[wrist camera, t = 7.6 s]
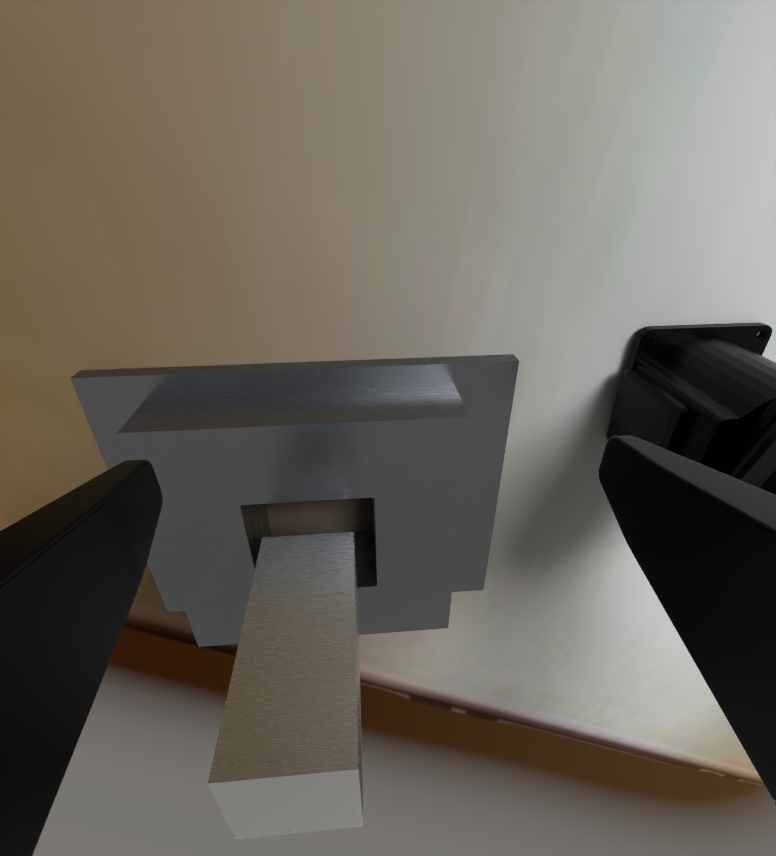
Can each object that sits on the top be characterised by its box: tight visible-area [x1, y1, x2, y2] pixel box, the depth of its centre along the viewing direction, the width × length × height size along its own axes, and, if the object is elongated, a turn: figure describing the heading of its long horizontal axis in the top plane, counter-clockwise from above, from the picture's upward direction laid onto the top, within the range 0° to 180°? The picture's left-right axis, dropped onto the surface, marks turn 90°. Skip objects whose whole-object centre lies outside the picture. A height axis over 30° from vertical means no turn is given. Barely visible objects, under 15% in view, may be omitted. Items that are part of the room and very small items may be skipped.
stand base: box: [71, 355, 519, 647], centre depth 23 cm, size 20×16×6 cm
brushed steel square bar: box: [208, 532, 364, 839], centre depth 17 cm, size 4×4×9 cm
